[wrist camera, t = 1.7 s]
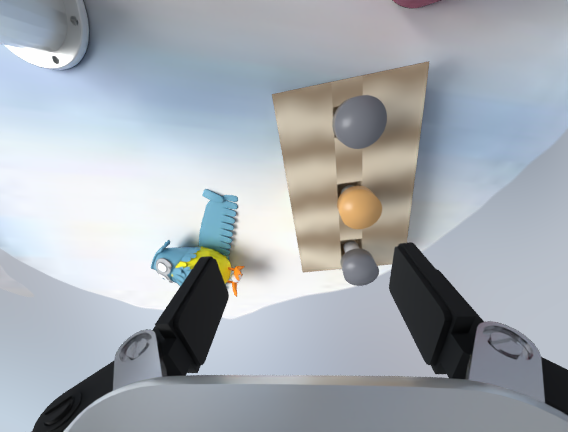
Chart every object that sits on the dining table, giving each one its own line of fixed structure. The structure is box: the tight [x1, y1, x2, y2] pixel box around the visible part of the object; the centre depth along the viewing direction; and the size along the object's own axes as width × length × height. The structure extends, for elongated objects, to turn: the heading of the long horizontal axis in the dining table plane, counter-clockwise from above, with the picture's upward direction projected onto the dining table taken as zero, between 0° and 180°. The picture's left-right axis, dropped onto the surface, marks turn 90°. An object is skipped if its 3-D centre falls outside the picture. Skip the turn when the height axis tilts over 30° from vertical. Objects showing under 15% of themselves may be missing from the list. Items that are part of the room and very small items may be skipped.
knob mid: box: [337, 185, 382, 229], centre depth 25 cm, size 4×4×6 cm
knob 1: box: [332, 95, 387, 149], centre depth 21 cm, size 4×4×6 cm
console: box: [272, 62, 429, 272], centre depth 29 cm, size 26×16×5 cm, turn 10°
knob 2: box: [340, 241, 379, 286], centre depth 29 cm, size 4×4×6 cm
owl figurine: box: [151, 189, 244, 297], centre depth 37 cm, size 28×9×15 cm
